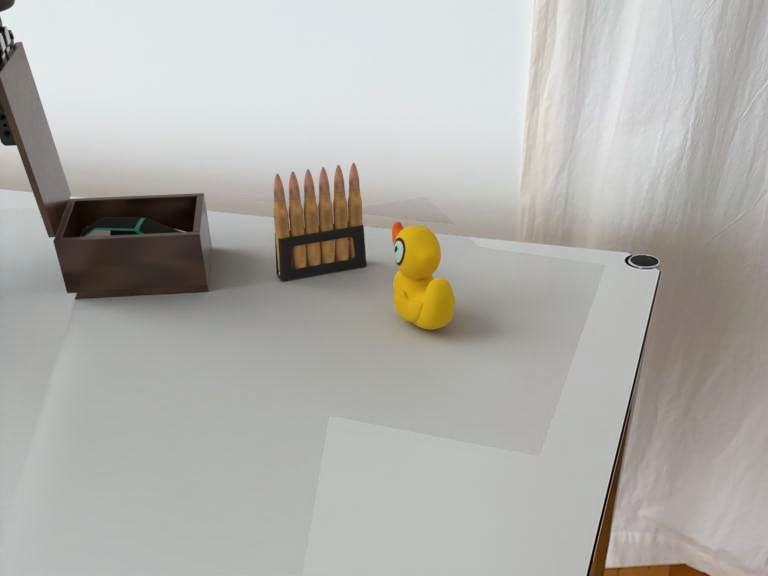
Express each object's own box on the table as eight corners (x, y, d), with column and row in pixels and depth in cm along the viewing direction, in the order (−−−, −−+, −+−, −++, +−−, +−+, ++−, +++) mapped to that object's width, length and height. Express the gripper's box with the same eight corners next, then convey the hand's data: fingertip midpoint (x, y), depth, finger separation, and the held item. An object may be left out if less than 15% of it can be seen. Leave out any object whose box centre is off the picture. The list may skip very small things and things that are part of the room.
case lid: (22, 41, 94) (15, 42, 94) (-1, 74, 86) (-9, 75, 85) (71, 194, 105) (65, 195, 105) (55, 237, 97) (48, 237, 97)
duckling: (374, 302, 101) (372, 215, 95) (416, 292, 103) (417, 206, 96) (421, 349, 94) (423, 258, 87) (465, 337, 96) (471, 247, 89)
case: (211, 247, 111) (203, 192, 107) (208, 291, 103) (199, 234, 98) (82, 253, 110) (69, 198, 105) (68, 298, 101) (52, 241, 97)
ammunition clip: (280, 281, 105) (271, 177, 97) (276, 274, 106) (266, 171, 98) (366, 266, 108) (364, 164, 100) (361, 260, 109) (358, 158, 101)
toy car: (96, 254, 108) (86, 210, 104) (195, 256, 108) (188, 213, 104) (81, 277, 104) (70, 232, 100) (184, 279, 103) (177, 234, 100)
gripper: (-65, -63, 88) (-10, 123, 100) (-104, -34, 78) (-38, 168, 90) (15, -64, 89) (60, 121, 100) (-14, -36, 79) (39, 164, 91)
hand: (14, 143), depth 95 cm, fingers closed
